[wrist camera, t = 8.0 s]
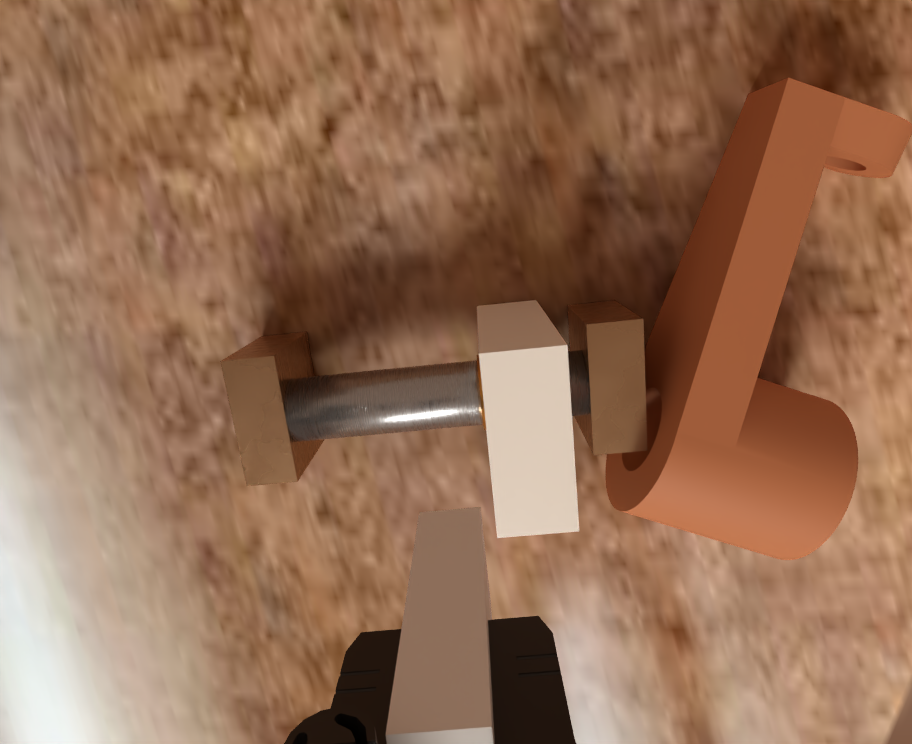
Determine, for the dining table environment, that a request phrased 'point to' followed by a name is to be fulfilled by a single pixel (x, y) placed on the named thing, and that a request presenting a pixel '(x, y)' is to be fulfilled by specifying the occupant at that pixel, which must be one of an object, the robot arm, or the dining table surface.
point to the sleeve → (527, 420)
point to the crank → (751, 340)
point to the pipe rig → (422, 395)
